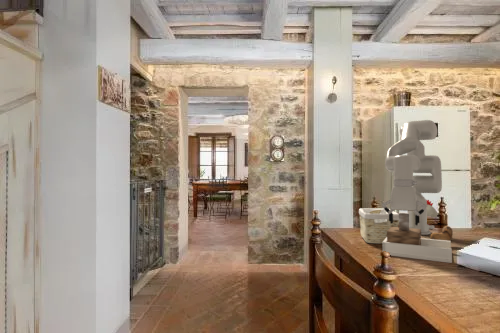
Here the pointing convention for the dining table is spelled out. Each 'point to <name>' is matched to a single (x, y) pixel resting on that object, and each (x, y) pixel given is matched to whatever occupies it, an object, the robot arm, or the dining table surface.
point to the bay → (421, 250)
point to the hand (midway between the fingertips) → (403, 223)
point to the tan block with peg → (404, 232)
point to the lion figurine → (443, 234)
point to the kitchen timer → (431, 210)
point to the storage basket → (376, 224)
